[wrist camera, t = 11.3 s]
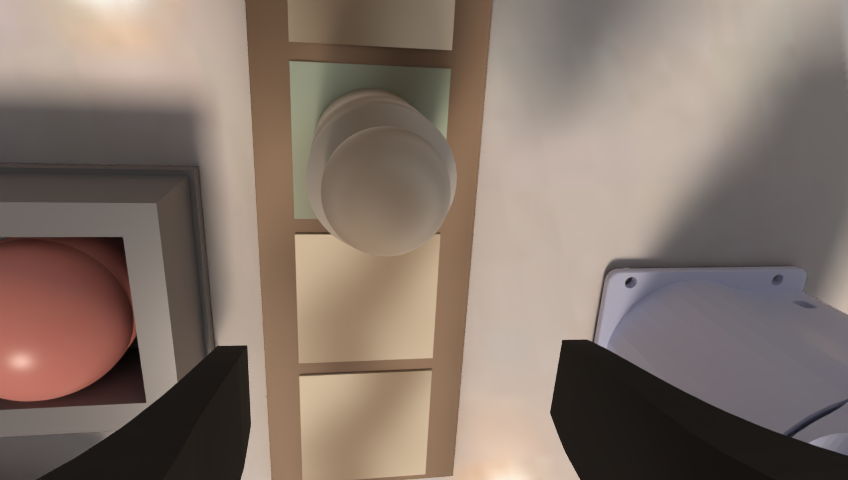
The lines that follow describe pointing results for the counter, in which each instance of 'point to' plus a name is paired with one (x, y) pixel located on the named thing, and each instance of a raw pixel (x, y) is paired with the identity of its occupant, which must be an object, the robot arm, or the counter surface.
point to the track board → (348, 267)
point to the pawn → (379, 173)
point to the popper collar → (148, 276)
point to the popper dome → (61, 314)
